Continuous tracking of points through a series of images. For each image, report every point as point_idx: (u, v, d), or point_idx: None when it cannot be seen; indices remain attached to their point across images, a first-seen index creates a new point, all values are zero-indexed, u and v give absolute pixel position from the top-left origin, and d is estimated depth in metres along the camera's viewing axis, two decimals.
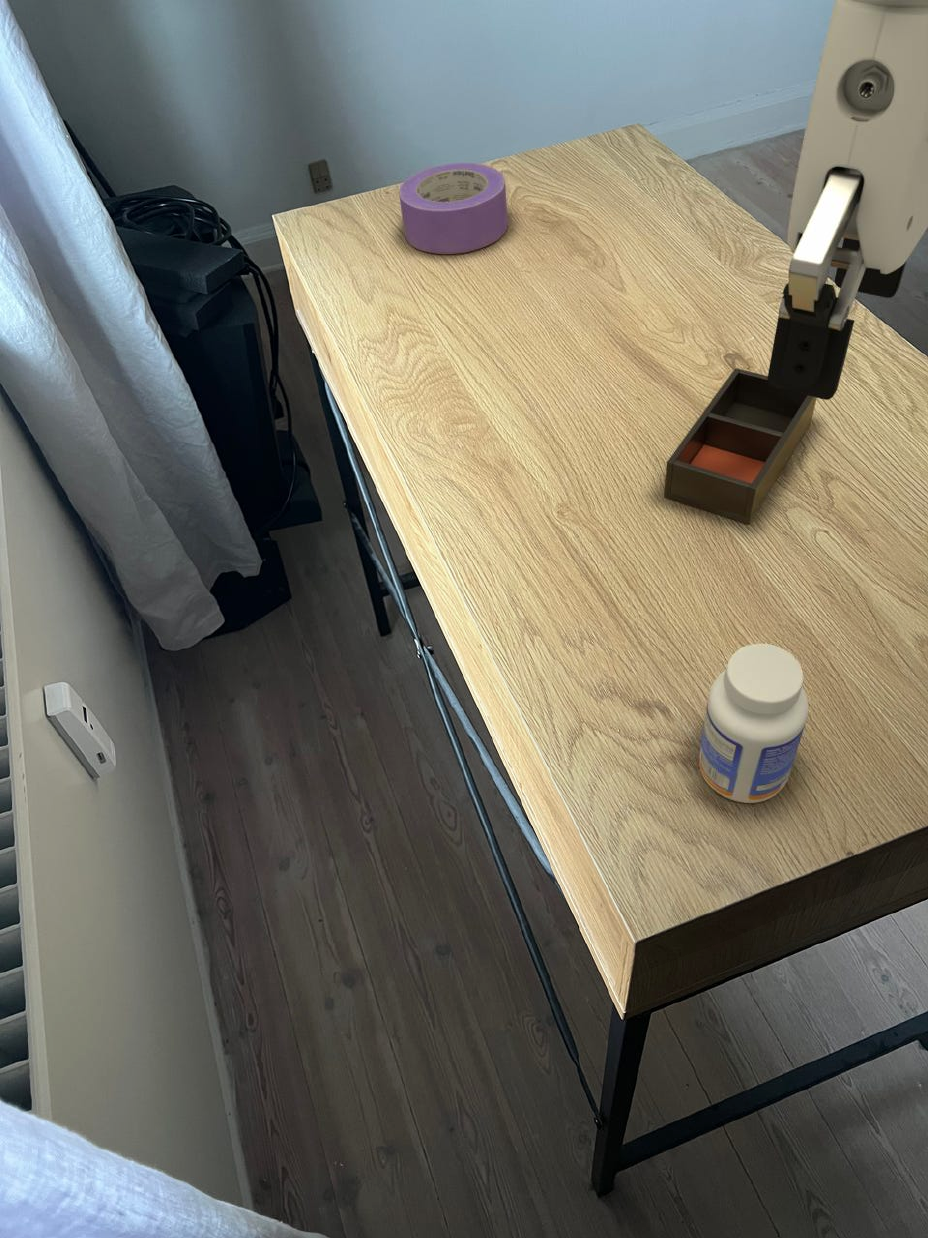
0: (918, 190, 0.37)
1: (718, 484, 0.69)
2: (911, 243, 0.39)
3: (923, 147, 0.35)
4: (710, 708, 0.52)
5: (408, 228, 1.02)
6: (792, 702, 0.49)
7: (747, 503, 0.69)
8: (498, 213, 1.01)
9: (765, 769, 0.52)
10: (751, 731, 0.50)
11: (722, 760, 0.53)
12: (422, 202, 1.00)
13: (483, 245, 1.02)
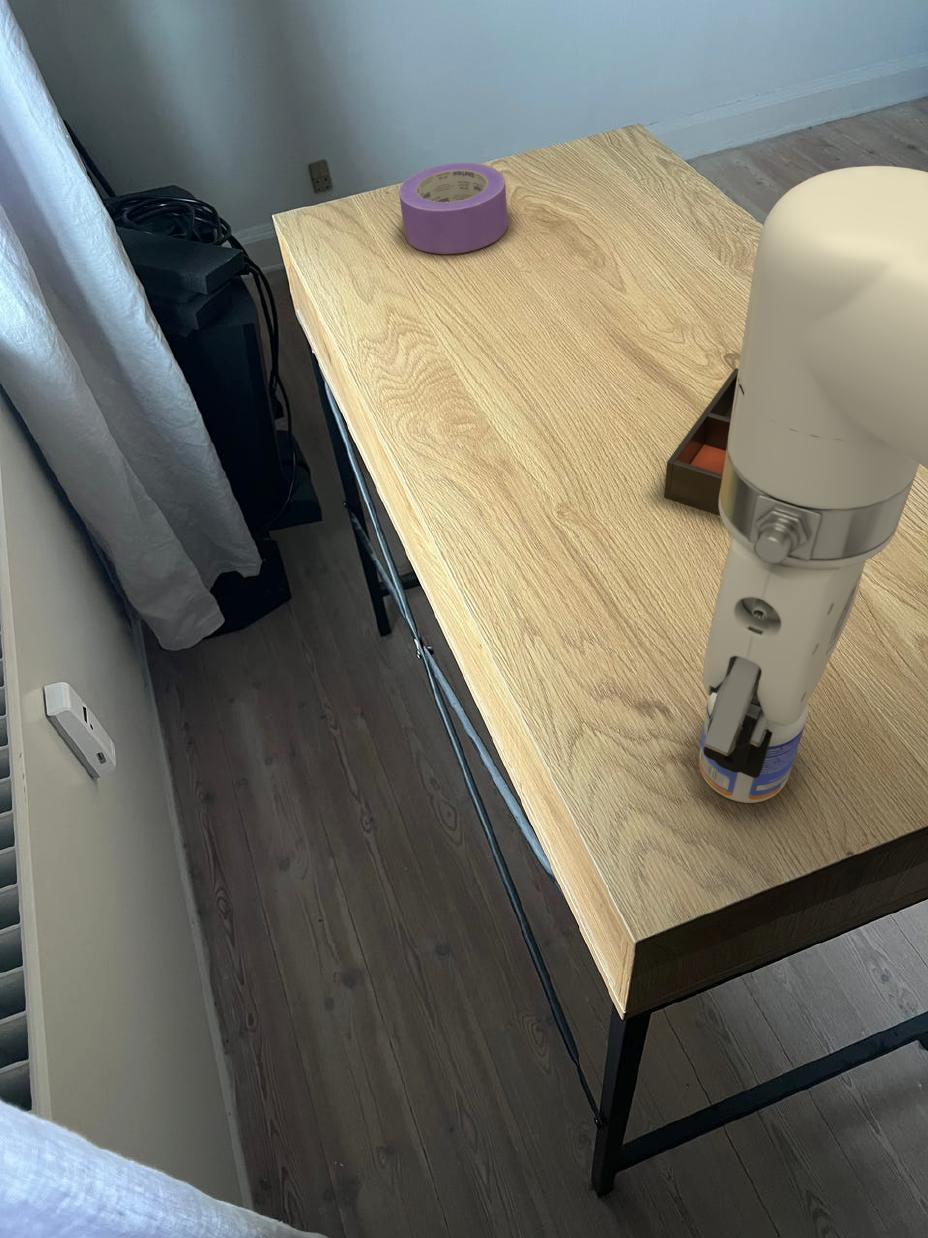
0: (808, 678, 0.42)
1: (718, 484, 0.69)
2: (809, 697, 0.45)
3: (809, 659, 0.41)
4: (710, 708, 0.52)
5: (408, 228, 1.02)
6: None
7: None
8: (498, 213, 1.01)
9: (765, 769, 0.52)
10: None
11: None
12: (422, 202, 1.00)
13: (483, 245, 1.02)
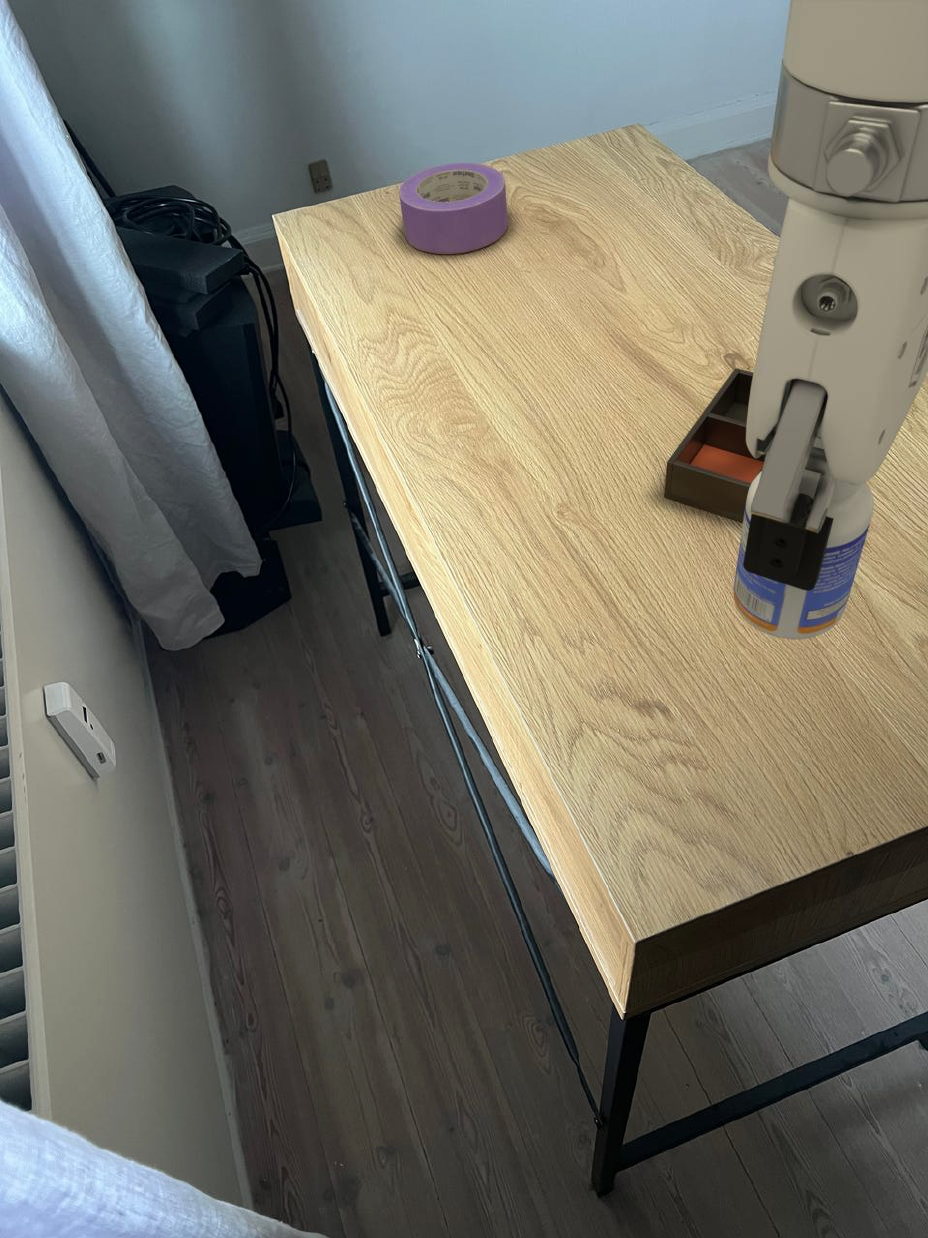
0: (890, 405, 0.32)
1: (718, 484, 0.69)
2: (885, 449, 0.35)
3: (894, 366, 0.30)
4: (750, 508, 0.42)
5: (408, 228, 1.02)
6: None
7: None
8: (498, 213, 1.01)
9: (820, 584, 0.42)
10: None
11: (765, 578, 0.43)
12: (422, 202, 1.00)
13: (483, 245, 1.02)
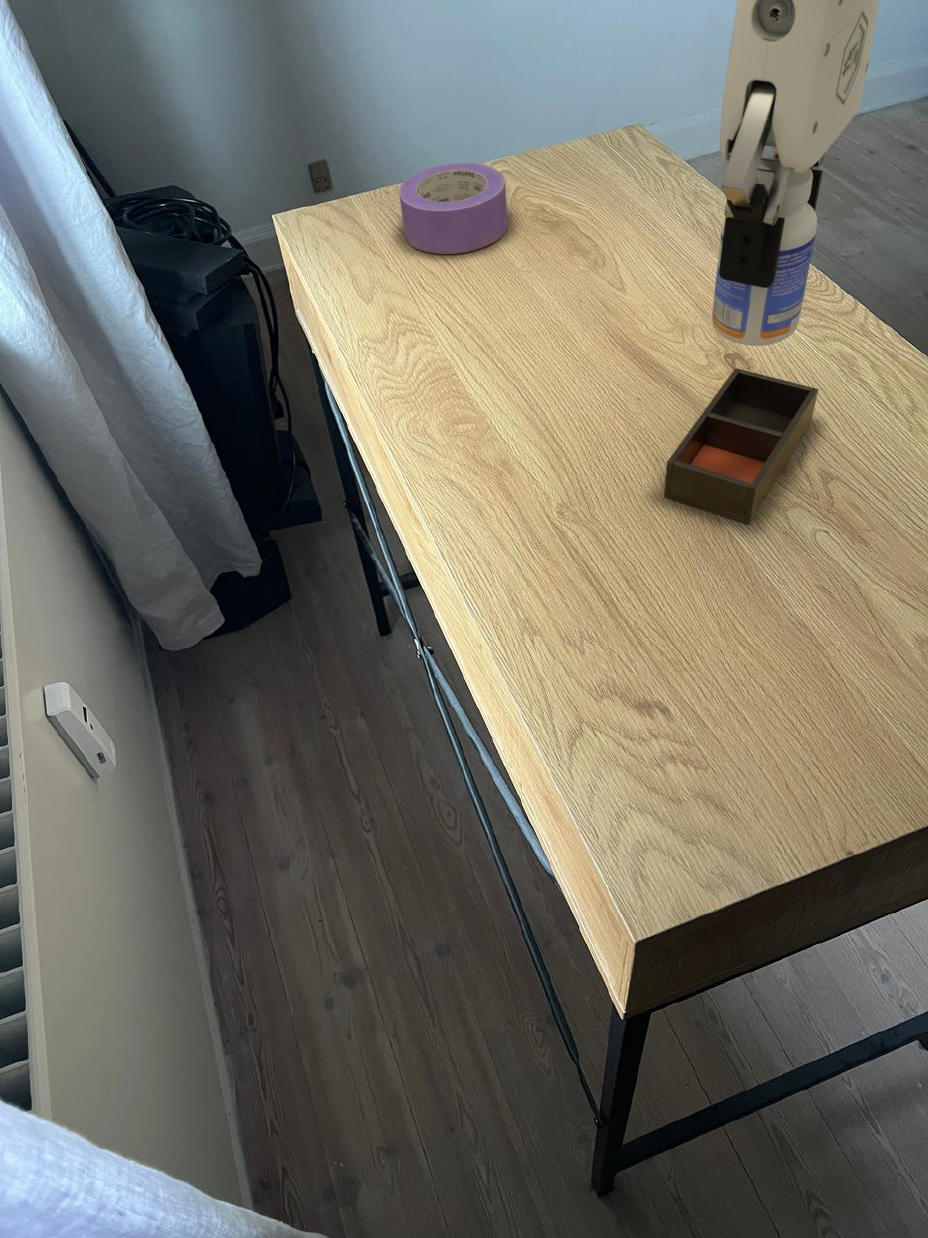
0: (820, 99, 0.45)
1: (718, 484, 0.69)
2: (819, 147, 0.48)
3: (821, 61, 0.44)
4: None
5: (408, 228, 1.02)
6: (802, 195, 0.52)
7: (747, 503, 0.69)
8: (498, 213, 1.01)
9: (776, 288, 0.55)
10: None
11: (736, 287, 0.56)
12: (422, 202, 1.00)
13: (483, 245, 1.02)
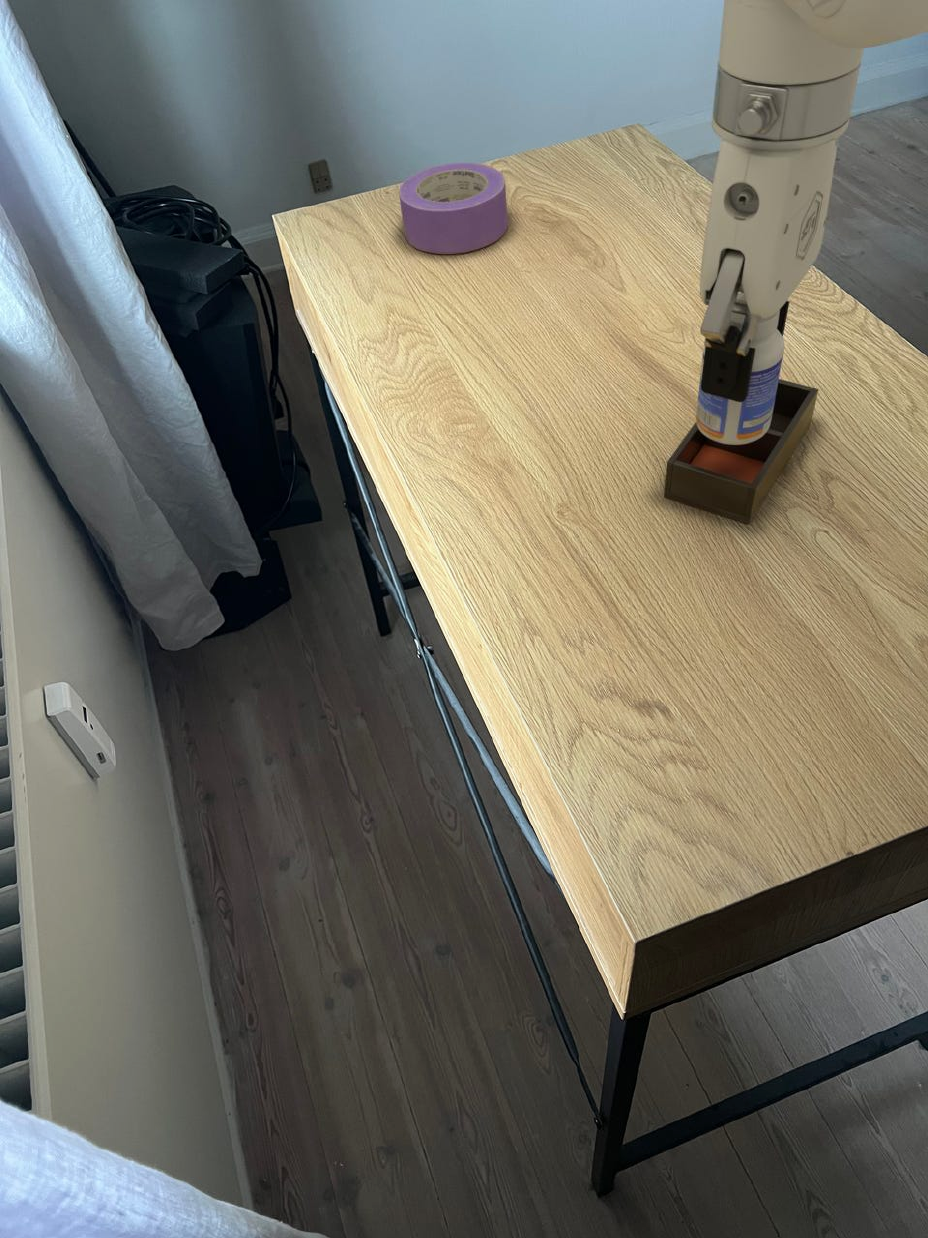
0: (781, 264, 0.55)
1: (718, 484, 0.69)
2: (783, 297, 0.57)
3: (781, 238, 0.53)
4: None
5: (408, 228, 1.02)
6: (770, 327, 0.61)
7: (747, 503, 0.69)
8: (498, 213, 1.01)
9: (750, 400, 0.64)
10: None
11: (715, 398, 0.65)
12: (422, 202, 1.00)
13: (483, 245, 1.02)
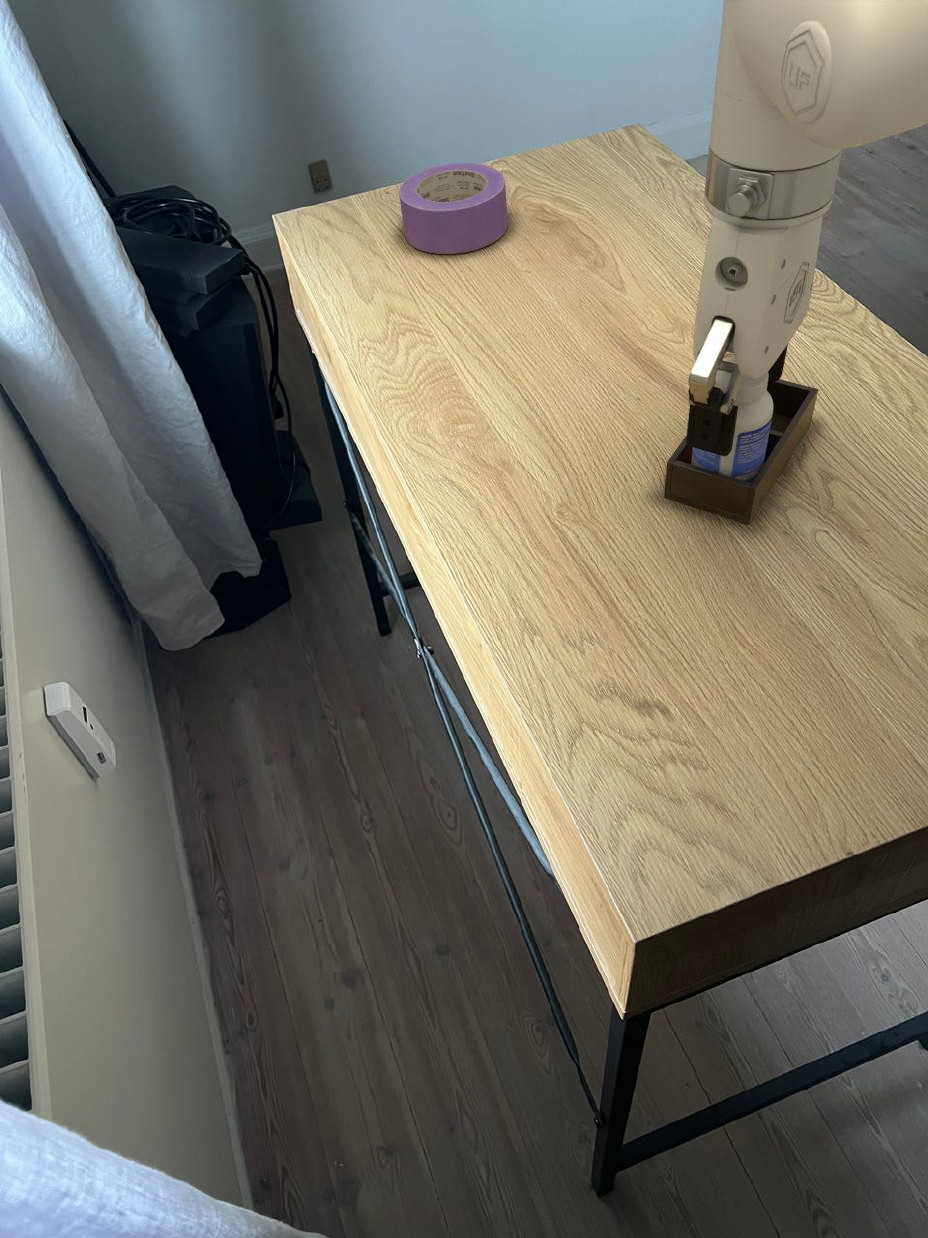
0: (770, 330, 0.58)
1: (718, 484, 0.69)
2: (771, 359, 0.60)
3: (769, 307, 0.56)
4: None
5: (408, 228, 1.02)
6: (760, 392, 0.65)
7: (747, 503, 0.69)
8: (498, 213, 1.01)
9: (741, 457, 0.68)
10: None
11: (708, 455, 0.69)
12: (422, 202, 1.00)
13: (483, 245, 1.02)
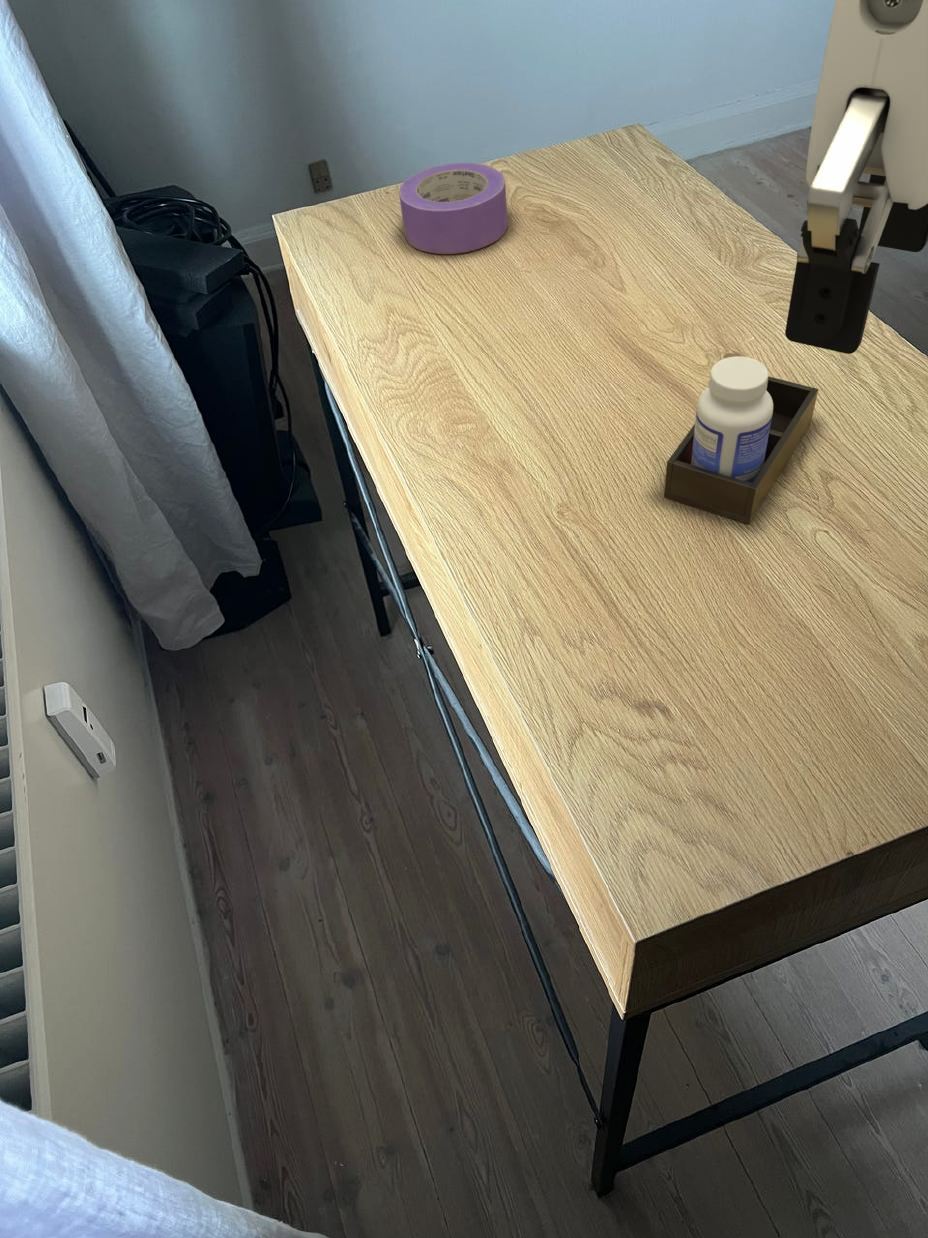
0: None
1: (718, 484, 0.69)
2: None
3: None
4: (698, 409, 0.68)
5: (408, 228, 1.02)
6: (760, 392, 0.65)
7: (747, 503, 0.69)
8: (498, 213, 1.01)
9: (741, 457, 0.68)
10: (729, 419, 0.66)
11: (708, 455, 0.69)
12: (422, 202, 1.00)
13: (483, 245, 1.02)
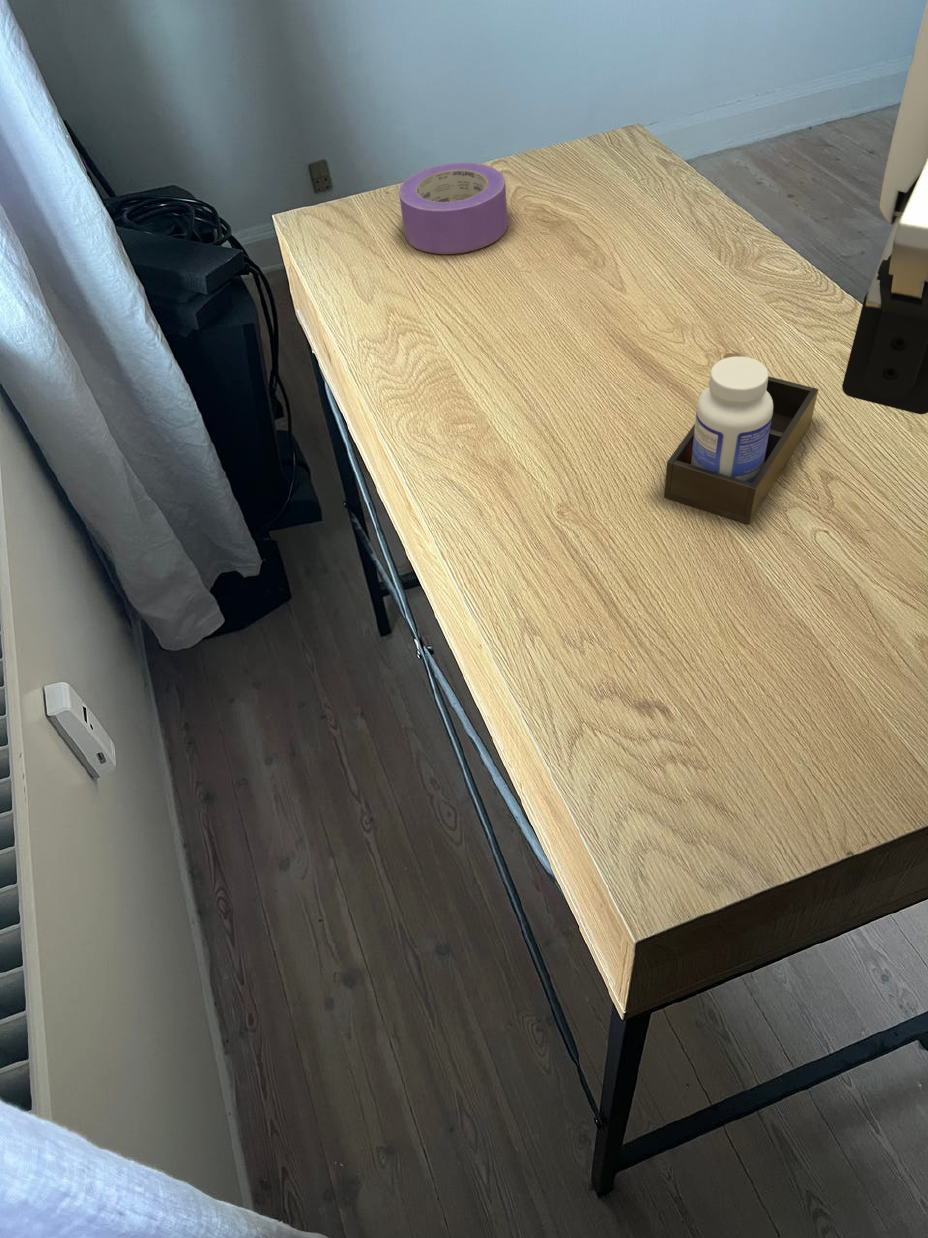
0: None
1: (718, 484, 0.69)
2: None
3: None
4: (698, 409, 0.68)
5: (408, 228, 1.02)
6: (760, 392, 0.65)
7: (747, 503, 0.69)
8: (498, 213, 1.01)
9: (741, 457, 0.68)
10: (729, 419, 0.66)
11: (708, 455, 0.69)
12: (422, 202, 1.00)
13: (483, 245, 1.02)
